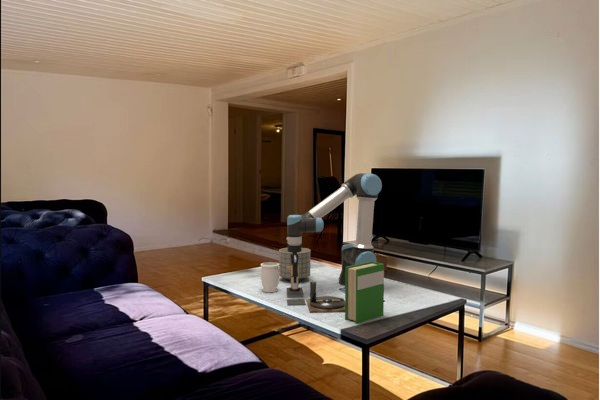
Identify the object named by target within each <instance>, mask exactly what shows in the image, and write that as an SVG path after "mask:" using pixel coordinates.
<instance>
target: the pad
mask: <svg viewBox="0 0 600 400" xmlns="http://www.w3.org/2000/svg"><path fill="white" fill-rule="evenodd" d="M286 303H287V306H307V305H306V303H307V302H306V301H305V298H292V299H291V298H288V299H287V298H286Z"/></svg>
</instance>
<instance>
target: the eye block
mask: <svg viewBox="0 0 600 400" xmlns="http://www.w3.org/2000/svg"><path fill="white" fill-rule="evenodd" d="M285 288H286V291H285V292H286V299H287V298H288V299H291V298H292V299H296V298H304V290H303V287H300V286H298V291H291V287H285Z"/></svg>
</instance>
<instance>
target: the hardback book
mask: <svg viewBox="0 0 600 400" xmlns="http://www.w3.org/2000/svg"><path fill="white" fill-rule="evenodd" d="M384 289H385V264H384V263H381V262H377V261H376V262H372V261H371V262H366V263H361V264H357V265H352V266H347V267H345V285H344V300H345V312H344V319H345V321H347V320H351V321H354V322H355V324H356V325H358V324H361V323H364V322H367V321H370V320H373V319H377V318H379V317H380V318H381V317H382V316H384V305H385V303H384V298H385V297H384V296H385V295H384V294H385V292H384V291H385V290H384Z"/></svg>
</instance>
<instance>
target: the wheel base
mask: <svg viewBox="0 0 600 400" xmlns="http://www.w3.org/2000/svg"><path fill="white" fill-rule="evenodd" d="M340 298H341V299H343V300H344V301H345V297H340ZM306 303H307V307H308V310H309V313H310V314H313V313H314V314H315V313H316V314H318V313H319V314H320V313H345V305H344V306H343V307H340V308H336V309H321V308H316V307H313V306H311V305H310V298H306Z"/></svg>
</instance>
